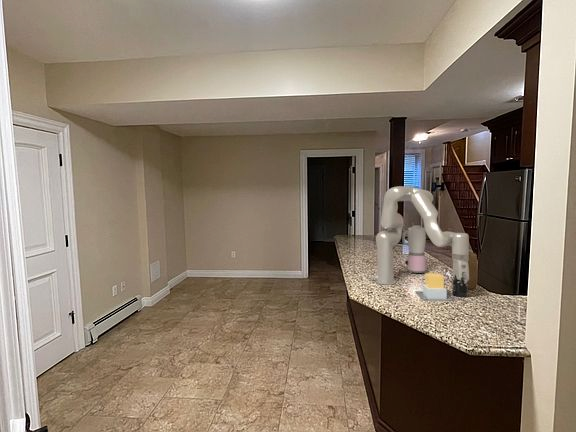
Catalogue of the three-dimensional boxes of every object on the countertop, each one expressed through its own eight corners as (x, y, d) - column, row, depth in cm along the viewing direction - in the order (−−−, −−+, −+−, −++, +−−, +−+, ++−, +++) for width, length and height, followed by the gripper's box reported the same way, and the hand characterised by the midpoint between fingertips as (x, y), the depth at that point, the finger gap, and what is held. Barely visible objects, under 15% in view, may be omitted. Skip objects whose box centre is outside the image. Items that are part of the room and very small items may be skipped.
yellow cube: (429, 288, 166) (429, 276, 166) (425, 284, 173) (425, 273, 173) (443, 288, 166) (443, 276, 165) (439, 284, 172) (439, 273, 172)
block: (478, 289, 182) (478, 254, 181) (464, 289, 183) (464, 254, 182) (469, 284, 193) (470, 250, 192) (456, 284, 194) (456, 250, 193)
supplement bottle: (449, 295, 173) (450, 273, 173) (463, 295, 173) (463, 272, 173) (456, 299, 167) (456, 276, 166) (469, 299, 166) (470, 276, 166)
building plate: (422, 302, 163) (422, 299, 163) (414, 293, 179) (414, 290, 179) (456, 303, 161) (456, 300, 161) (445, 293, 177) (445, 290, 176)
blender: (423, 270, 231) (424, 225, 229) (428, 274, 219) (429, 226, 217) (400, 270, 233) (400, 225, 231) (404, 274, 221) (404, 226, 219)
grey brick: (427, 298, 166) (427, 288, 166) (422, 293, 175) (422, 284, 175) (446, 299, 165) (446, 289, 164) (440, 293, 174) (440, 284, 173)
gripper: (475, 260, 160) (474, 296, 161) (461, 254, 177) (461, 286, 178) (458, 260, 161) (458, 295, 162) (446, 254, 178) (446, 286, 179)
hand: (459, 290), depth 170 cm, fingers open, 8 cm apart
